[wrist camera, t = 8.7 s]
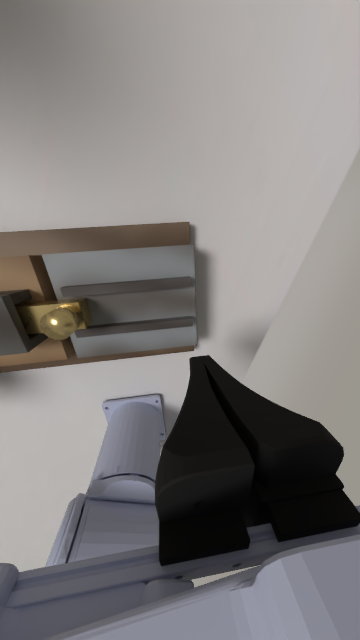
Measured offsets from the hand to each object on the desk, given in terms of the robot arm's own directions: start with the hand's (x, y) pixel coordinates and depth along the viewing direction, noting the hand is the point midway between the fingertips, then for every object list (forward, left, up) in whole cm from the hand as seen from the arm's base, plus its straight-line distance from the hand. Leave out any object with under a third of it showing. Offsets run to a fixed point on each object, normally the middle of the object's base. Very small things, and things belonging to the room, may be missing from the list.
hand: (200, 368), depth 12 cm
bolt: (+3, +13, -6) cm, 15 cm away
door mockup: (+3, +12, -9) cm, 16 cm away
